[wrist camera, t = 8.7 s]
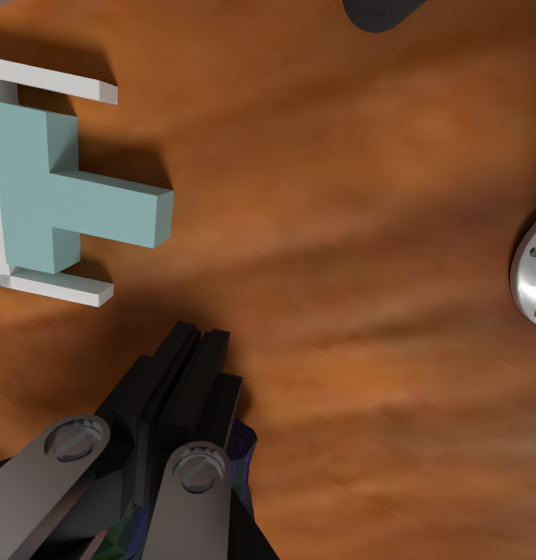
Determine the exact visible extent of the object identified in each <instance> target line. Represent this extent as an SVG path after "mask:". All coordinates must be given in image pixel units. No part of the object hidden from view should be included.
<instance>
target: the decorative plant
mask: <svg viewBox="0 0 536 560" xmlns="http://www.w3.org/2000/svg"><path fill="white" fill-rule="evenodd" d="M257 439H258V438H257V436H256V434H255V431H254V430H253V429H251V428H250V427H248V426H247V425H245V424H244V423H242V422H241V421H239V420H238V419H236V418H235V417H234V420H233V424H232V428H231V432H230V436H229V440H228V443H227V447H226V451H225V452H226V454H227V455H228V457H229V459H230V461H231V467H232V481H231V486H232V488H233V489H234V491H235V492H236V494H237V495H238V497H239V499H240V500H241V502H242V503H243V505H244V506H245V508H246V509H247V511H248V512H249V514H250V515H251V517H252V518H253V520H254V521H255V518H254V512H253V505H252V500H251V494H250V490H249V486H248V474H249V465H250V462H251V459H252V455H253V452H254V449H255V446H256V443H257ZM148 503H149V498H148V500H147V502H146V504H145V505H144V506H141V505H138V506H137V508H136V510H135V512H134V514H133V516H132V519H130V518H126V517H122V519H121V521H120V522H118V523H117V524H115V525H113V526H111V527H109V528H108V529H107V533H106V535H105V537H104V539H103V541H102V542H101V544H100V545H99V547H98V548H97V550H96V551H95V553H94V554H93V556H92V557H91V559H90V560H141V559H142V555H143V551H144V547H145V544H146V540H147V536H148V531H147V528H146V526H147V514H148Z"/></svg>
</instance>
